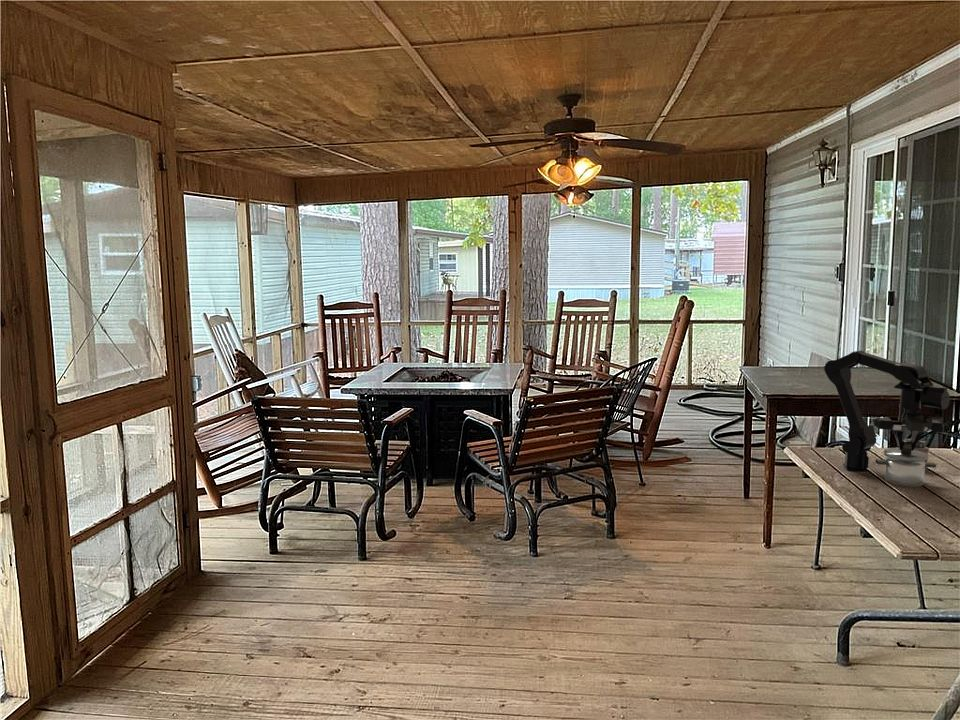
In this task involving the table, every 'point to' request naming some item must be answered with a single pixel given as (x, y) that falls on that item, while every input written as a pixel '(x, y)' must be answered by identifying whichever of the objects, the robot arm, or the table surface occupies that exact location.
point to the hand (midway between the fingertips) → (906, 450)
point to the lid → (906, 453)
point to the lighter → (921, 448)
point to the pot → (905, 471)
